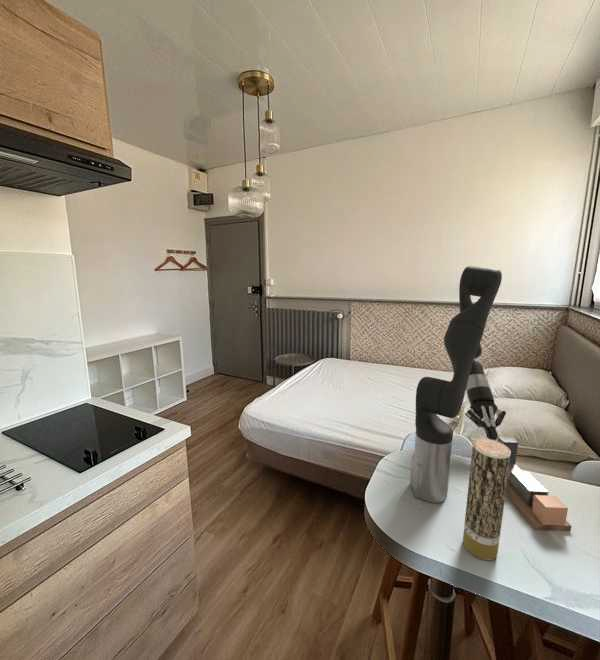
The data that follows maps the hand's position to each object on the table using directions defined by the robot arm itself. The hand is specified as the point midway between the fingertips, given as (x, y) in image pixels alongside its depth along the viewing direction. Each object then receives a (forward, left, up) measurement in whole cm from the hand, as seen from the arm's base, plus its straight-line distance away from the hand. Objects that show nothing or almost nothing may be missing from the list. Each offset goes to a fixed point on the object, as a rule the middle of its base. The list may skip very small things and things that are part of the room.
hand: (493, 439), depth 100 cm
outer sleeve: (0, -17, -6) cm, 18 cm away
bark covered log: (-20, -33, -8) cm, 40 cm away
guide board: (0, -17, -8) cm, 19 cm away
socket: (0, -25, -6) cm, 26 cm away
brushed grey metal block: (0, -14, -6) cm, 15 cm away
